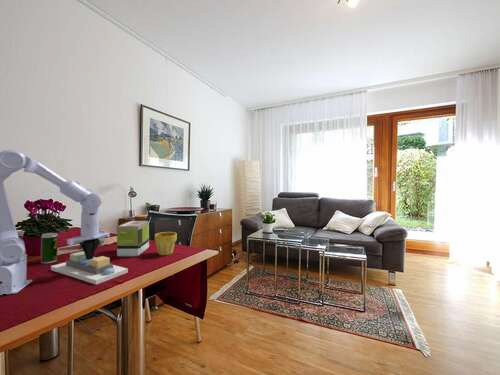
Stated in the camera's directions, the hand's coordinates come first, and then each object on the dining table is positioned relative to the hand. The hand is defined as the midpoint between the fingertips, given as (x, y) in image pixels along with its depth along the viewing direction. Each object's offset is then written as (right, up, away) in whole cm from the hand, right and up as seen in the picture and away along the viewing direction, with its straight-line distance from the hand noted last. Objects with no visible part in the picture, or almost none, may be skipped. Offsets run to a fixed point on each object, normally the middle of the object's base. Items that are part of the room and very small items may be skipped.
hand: (89, 258), depth 88 cm
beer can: (-24, -4, +9) cm, 26 cm away
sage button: (-6, -2, +3) cm, 7 cm away
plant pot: (+20, -5, +25) cm, 33 cm away
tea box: (+4, -5, +26) cm, 27 cm away
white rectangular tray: (0, -5, 0) cm, 5 cm away
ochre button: (+6, -2, -3) cm, 7 cm away
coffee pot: (-20, -4, +31) cm, 37 cm away
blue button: (0, -3, 0) cm, 3 cm away
